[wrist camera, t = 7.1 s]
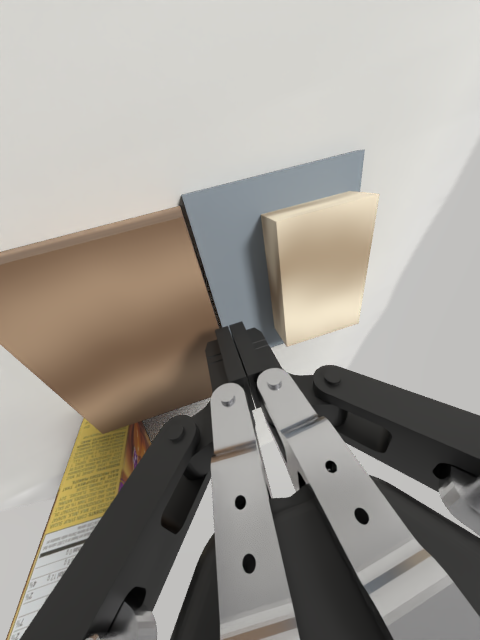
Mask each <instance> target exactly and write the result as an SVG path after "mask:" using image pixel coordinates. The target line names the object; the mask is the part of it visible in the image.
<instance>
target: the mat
mask: <svg viewBox="0 0 480 640" xmlns="http://www.w3.org/2000/svg"><path fill="white" fill-rule="evenodd" d="M364 151H365V150H357V151H353V152H349V153H345V154H341V155H338V156H334V157H330V158H326V159H322V160H318V161H314V162H310V163H306V164H302V165H298V166H294V167H290V168H286V169H282V170H278V171H274V172H270V173H266V174H262V175H258V176H254V177H250V178H247V179H243V180H239V181H235V182H231V183H227V184H223V185H219V186H215V187H211V188H207V189H203V190H199V191H195V192H191V193H187V194H183V195H181V196H182V199H183V202H184V205H185V208H186V212H187V215H188V218H189V221H190V225H191V228H192V231H193V234H194V238H195V241H196V244H197V247H198V250H199V254H200V257H201V260H202V263H203V267H204V270H205V273H206V276H207V279H208V283H209V286H210V289H211V292H212V296H213V299H214V302H215V305H216V309H217V312H218V315H219V318H220V321H221V325H222V327H225V326H228V327H229V325H231V324H235V323H238V322H241V321H242V322H243V324H244V326H245V328H246V330H248V329H251V328H254V327H255V328H256V329H258V330H259V331H261V332H262V334H263V336H264V337H265V340H266V341H267V343H268V345H269V346H270V348H271V347H274V346H277V345H280V344H283V343H284V341H283V340H282V338H281V337H280V335H279V334H278V332H277V331H276V329H275V327H274V319H273V310H272V302H271V294H270V286H269V278H268V270H267V262H266V253H265V245H264V237H263V229H262V221H261V214H264V213H268V212H272V211H276V210H279V209H283V208H287V207H291V206H295V205H298V204H302V203H306V202H310V201H314V200H317V199H321V198H325V197H329V196H333V195H336V194H340V193H344V192H348V191H355V192H360V187H361V178H362V169H363V160H364ZM229 330H230V328H229ZM230 333H231V331H230ZM231 336H232V335H231ZM232 339H233V338H232Z"/></svg>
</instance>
